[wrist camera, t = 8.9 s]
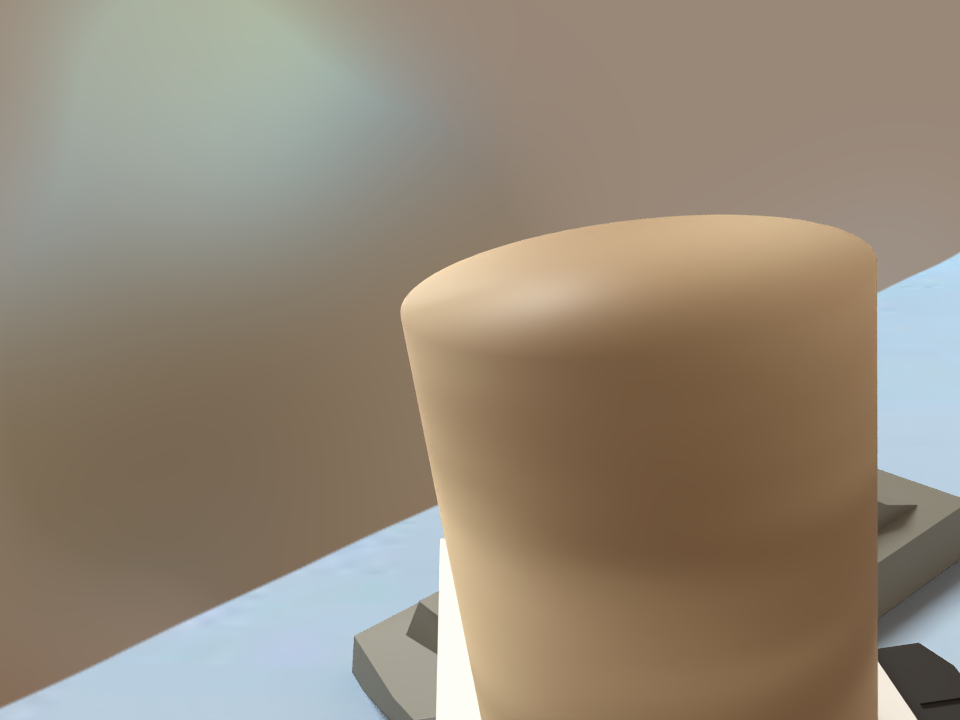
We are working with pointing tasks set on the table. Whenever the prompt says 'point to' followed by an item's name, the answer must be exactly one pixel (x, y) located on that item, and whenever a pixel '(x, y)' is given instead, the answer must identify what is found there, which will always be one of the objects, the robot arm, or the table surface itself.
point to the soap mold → (901, 571)
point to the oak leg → (659, 468)
